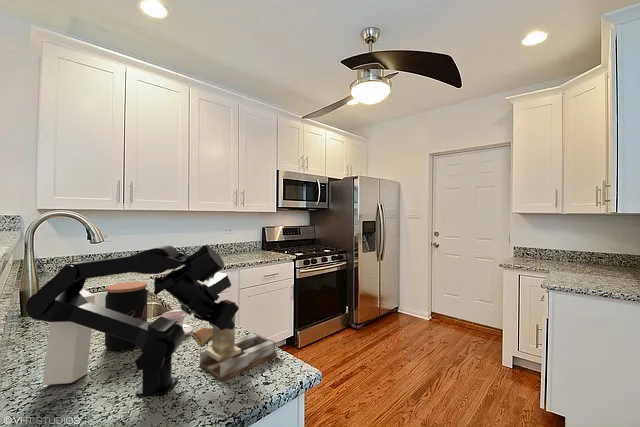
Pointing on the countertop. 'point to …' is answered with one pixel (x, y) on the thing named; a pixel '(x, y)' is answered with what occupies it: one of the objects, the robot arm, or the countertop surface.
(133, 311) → the coffee jar
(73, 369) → the milk
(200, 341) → the folded crepe
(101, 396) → the countertop surface
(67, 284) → the robot arm
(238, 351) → the beech peg
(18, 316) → the countertop surface
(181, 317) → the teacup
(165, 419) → the countertop surface
